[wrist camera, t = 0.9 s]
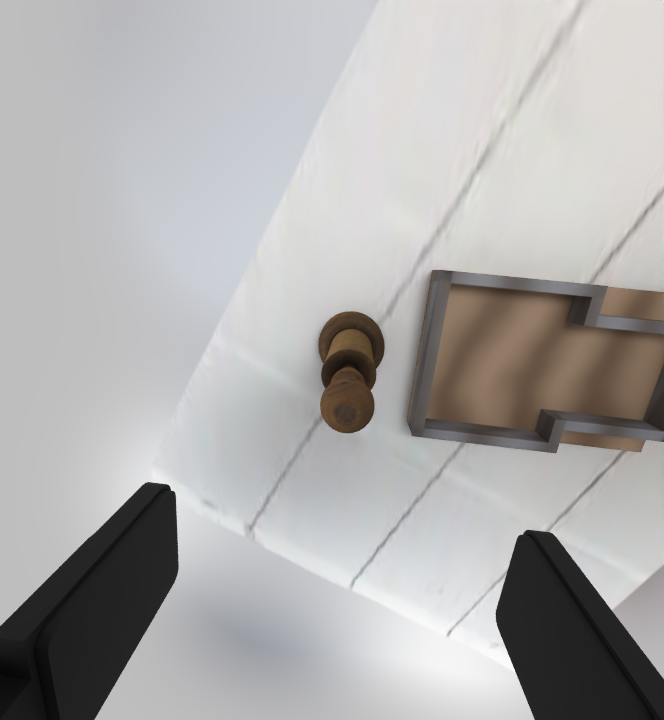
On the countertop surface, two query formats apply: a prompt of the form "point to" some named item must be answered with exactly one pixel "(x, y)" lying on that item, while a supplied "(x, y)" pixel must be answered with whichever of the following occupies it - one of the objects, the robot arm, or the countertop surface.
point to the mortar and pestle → (349, 370)
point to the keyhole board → (539, 364)
